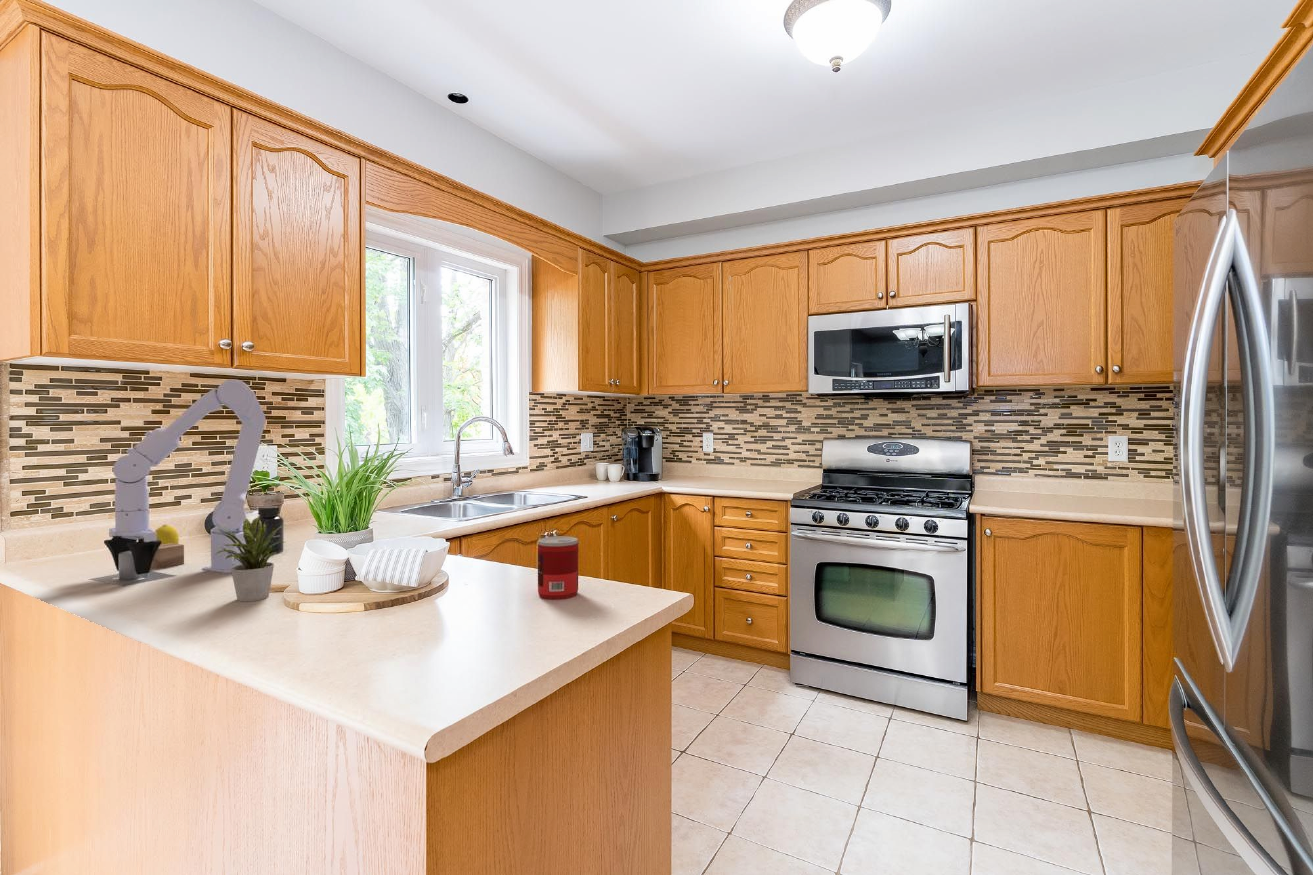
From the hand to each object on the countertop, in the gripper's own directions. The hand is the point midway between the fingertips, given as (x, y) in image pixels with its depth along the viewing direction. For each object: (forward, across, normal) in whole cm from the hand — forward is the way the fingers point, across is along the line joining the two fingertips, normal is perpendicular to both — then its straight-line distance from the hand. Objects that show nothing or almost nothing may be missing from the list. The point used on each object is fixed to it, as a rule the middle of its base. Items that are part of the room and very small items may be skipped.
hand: (133, 571), depth 137 cm
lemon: (+2, -21, +17) cm, 27 cm away
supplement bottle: (+2, -1, +31) cm, 31 cm away
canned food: (+2, +92, +28) cm, 96 cm away
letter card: (+1, 0, 0) cm, 1 cm away
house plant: (+2, +38, +1) cm, 38 cm away
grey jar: (+1, 0, 0) cm, 1 cm away
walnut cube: (+2, -7, +10) cm, 12 cm away
